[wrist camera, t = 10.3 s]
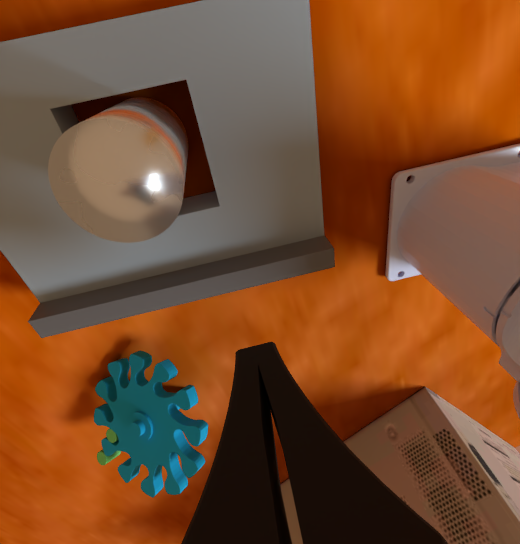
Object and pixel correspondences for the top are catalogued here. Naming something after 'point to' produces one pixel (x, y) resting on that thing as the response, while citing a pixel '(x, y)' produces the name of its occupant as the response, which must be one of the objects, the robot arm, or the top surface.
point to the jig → (217, 142)
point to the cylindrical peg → (122, 170)
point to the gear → (149, 424)
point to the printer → (440, 471)
